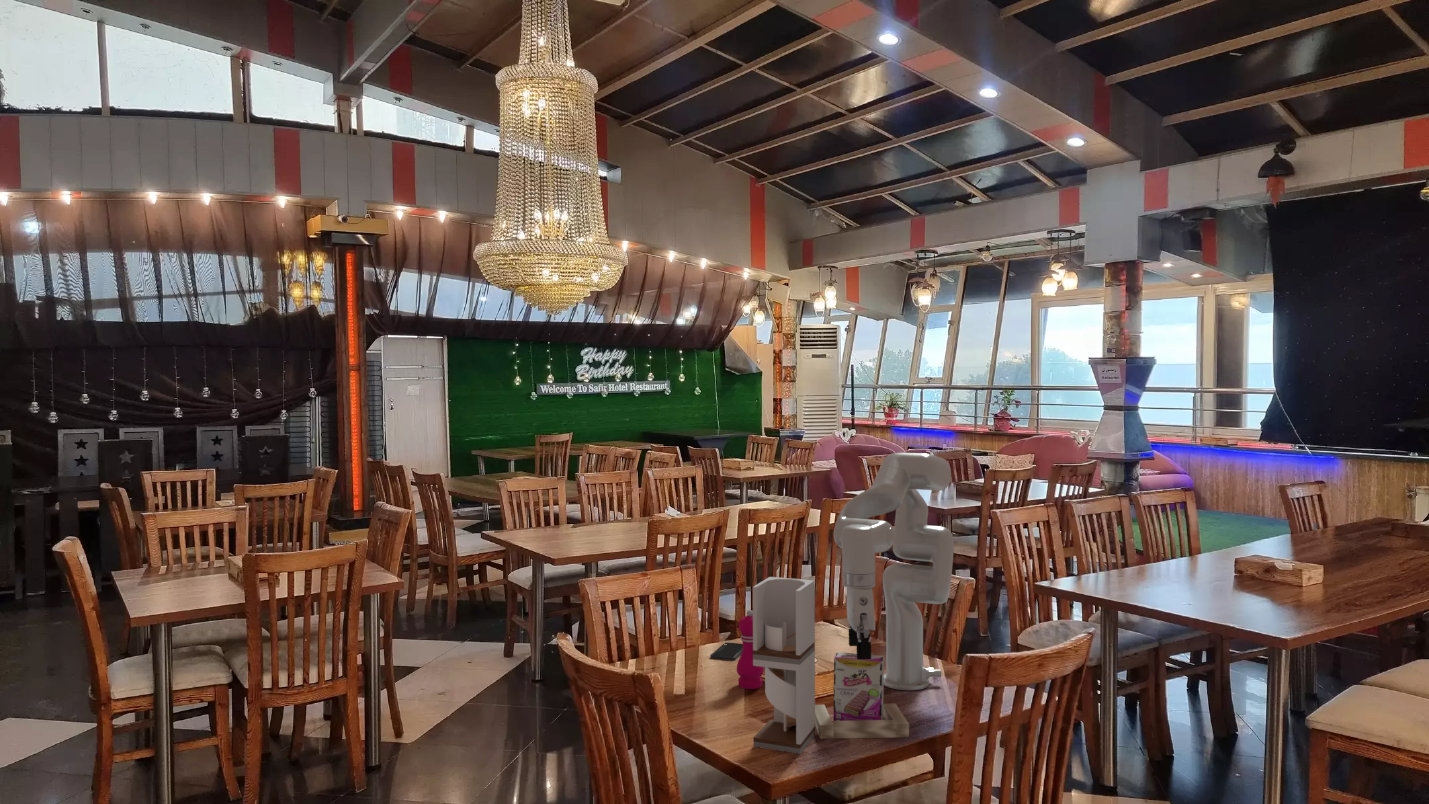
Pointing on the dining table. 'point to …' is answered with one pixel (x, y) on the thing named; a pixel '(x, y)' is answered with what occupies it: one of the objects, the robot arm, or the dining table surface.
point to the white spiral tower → (786, 660)
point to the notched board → (862, 725)
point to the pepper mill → (748, 656)
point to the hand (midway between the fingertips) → (859, 651)
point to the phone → (728, 652)
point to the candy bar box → (858, 687)
